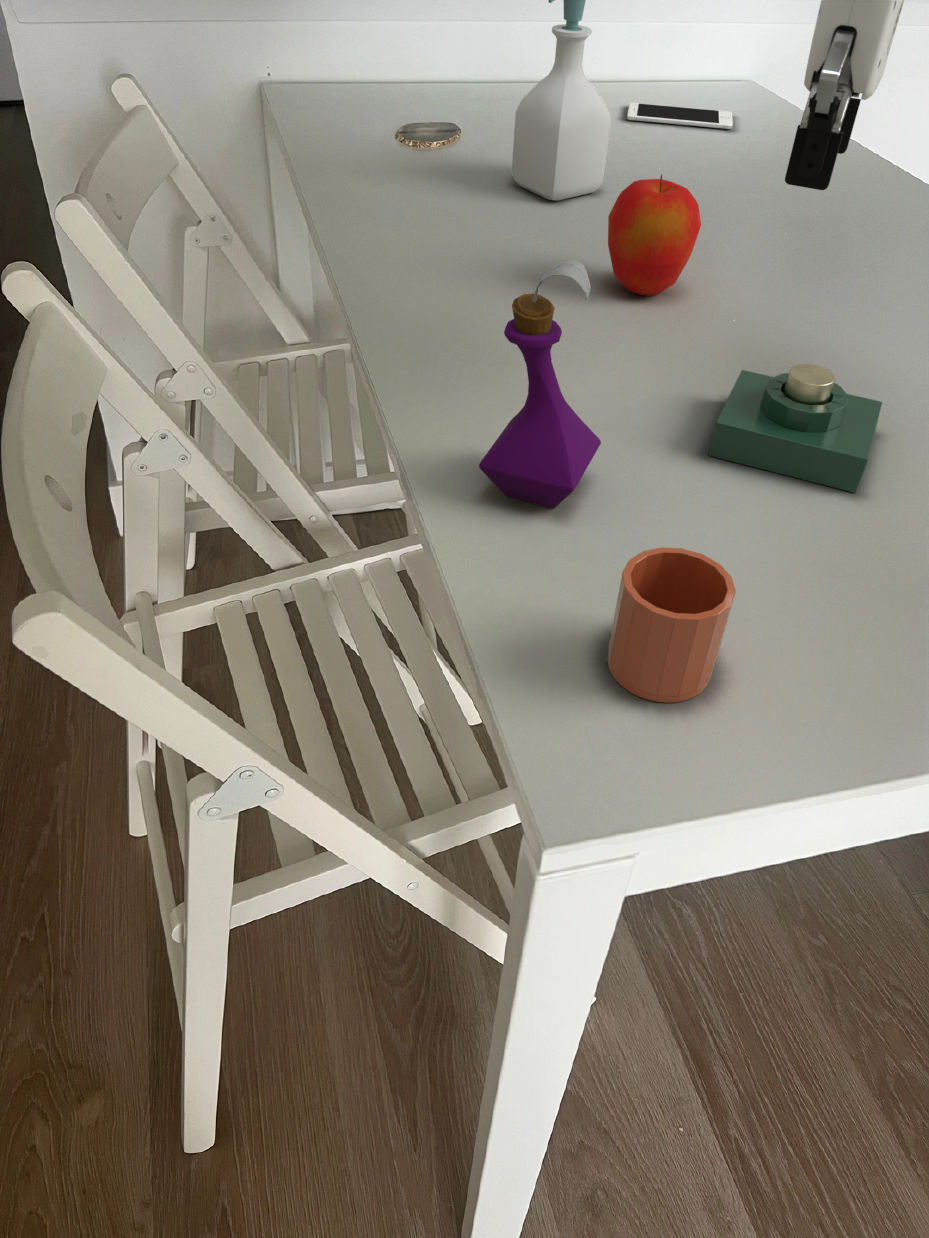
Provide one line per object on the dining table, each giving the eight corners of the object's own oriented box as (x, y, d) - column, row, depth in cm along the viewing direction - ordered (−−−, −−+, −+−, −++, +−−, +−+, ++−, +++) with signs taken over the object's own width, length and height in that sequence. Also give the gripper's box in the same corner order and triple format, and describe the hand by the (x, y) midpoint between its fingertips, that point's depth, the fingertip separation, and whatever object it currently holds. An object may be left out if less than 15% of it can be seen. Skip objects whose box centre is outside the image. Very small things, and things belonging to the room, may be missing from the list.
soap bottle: (504, 184, 129) (517, -21, 114) (560, 172, 133) (579, -27, 118) (551, 207, 123) (572, -5, 108) (608, 194, 128) (635, -12, 113)
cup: (721, 649, 65) (745, 566, 60) (696, 716, 60) (721, 632, 55) (624, 619, 66) (640, 536, 62) (593, 682, 62) (609, 598, 57)
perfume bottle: (475, 502, 76) (488, 273, 64) (509, 454, 81) (526, 234, 69) (568, 526, 74) (599, 296, 62) (596, 475, 79) (630, 253, 67)
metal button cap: (831, 392, 82) (838, 369, 80) (824, 412, 79) (831, 389, 78) (787, 382, 82) (793, 359, 81) (779, 401, 80) (785, 378, 79)
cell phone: (732, 130, 150) (733, 125, 150) (626, 120, 152) (627, 116, 152) (731, 115, 156) (731, 111, 156) (629, 106, 158) (629, 102, 157)
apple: (590, 299, 104) (605, 181, 96) (611, 268, 110) (627, 154, 102) (677, 316, 102) (701, 196, 94) (693, 283, 108) (716, 168, 100)
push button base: (870, 434, 86) (889, 382, 82) (855, 493, 79) (875, 439, 75) (733, 401, 89) (746, 350, 86) (707, 455, 82) (720, 402, 79)
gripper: (936, -81, 59) (850, 211, 70) (954, -108, 71) (878, 145, 82) (808, -93, 61) (745, 192, 72) (847, -118, 73) (787, 131, 84)
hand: (816, 167), depth 77 cm, fingers open, 9 cm apart
